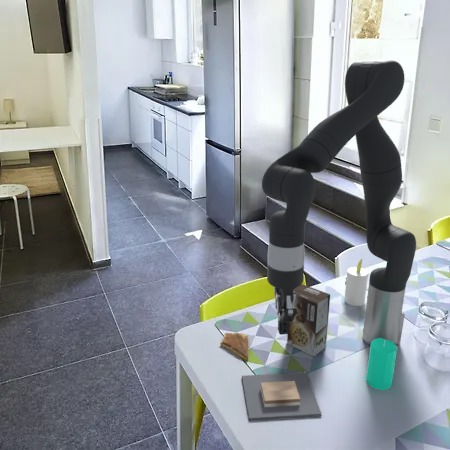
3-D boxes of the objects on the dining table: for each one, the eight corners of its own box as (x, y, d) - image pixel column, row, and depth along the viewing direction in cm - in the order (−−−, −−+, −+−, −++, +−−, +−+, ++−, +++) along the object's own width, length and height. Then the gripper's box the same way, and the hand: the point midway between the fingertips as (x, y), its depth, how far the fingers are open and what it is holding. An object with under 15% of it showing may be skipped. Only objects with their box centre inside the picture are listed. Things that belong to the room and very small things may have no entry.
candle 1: (348, 293, 153) (352, 252, 148) (367, 299, 149) (372, 257, 144) (340, 301, 148) (344, 259, 143) (360, 308, 145) (365, 264, 139)
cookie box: (327, 346, 126) (331, 294, 120) (313, 357, 122) (318, 303, 116) (299, 333, 132) (302, 283, 126) (285, 343, 127) (288, 291, 122)
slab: (294, 380, 109) (300, 398, 104) (294, 387, 110) (299, 405, 105) (260, 382, 109) (264, 400, 103) (260, 388, 110) (264, 407, 104)
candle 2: (388, 393, 109) (395, 350, 105) (362, 384, 112) (368, 342, 108) (394, 378, 114) (400, 337, 109) (369, 370, 117) (375, 329, 112)
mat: (306, 374, 115) (306, 372, 115) (321, 415, 102) (321, 413, 102) (242, 377, 114) (242, 375, 114) (249, 420, 101) (249, 418, 101)
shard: (248, 363, 120) (248, 357, 120) (218, 362, 121) (218, 356, 120) (248, 338, 130) (248, 333, 130) (221, 337, 131) (221, 332, 130)
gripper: (311, 275, 90) (307, 349, 96) (296, 247, 102) (293, 315, 108) (273, 277, 89) (271, 352, 96) (262, 249, 101) (261, 317, 108)
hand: (283, 332), depth 102 cm, fingers closed
